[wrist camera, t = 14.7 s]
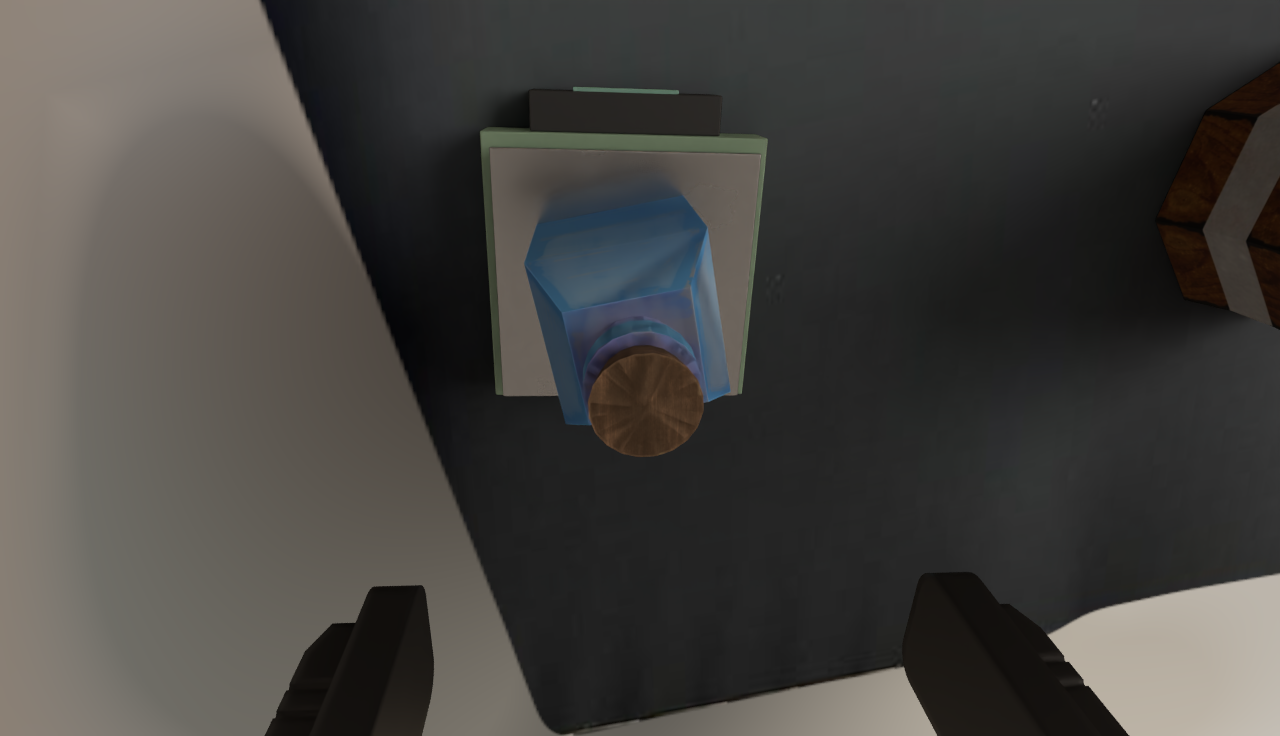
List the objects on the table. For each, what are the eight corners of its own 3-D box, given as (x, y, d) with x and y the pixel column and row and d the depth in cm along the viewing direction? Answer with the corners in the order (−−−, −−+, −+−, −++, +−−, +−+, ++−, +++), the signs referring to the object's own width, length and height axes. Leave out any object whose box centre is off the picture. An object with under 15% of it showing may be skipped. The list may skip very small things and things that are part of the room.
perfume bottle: (536, 224, 28) (504, 323, 17) (683, 195, 28) (745, 275, 17) (570, 358, 30) (560, 520, 20) (704, 332, 30) (769, 479, 19)
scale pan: (505, 385, 32) (502, 396, 31) (492, 143, 28) (488, 147, 27) (732, 385, 33) (737, 395, 32) (755, 150, 29) (762, 153, 27)
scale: (501, 376, 34) (495, 395, 32) (484, 83, 29) (476, 84, 27) (733, 375, 35) (742, 394, 33) (760, 92, 30) (772, 94, 28)
